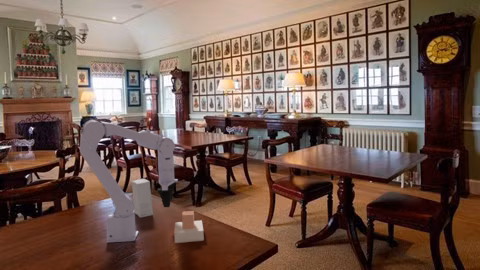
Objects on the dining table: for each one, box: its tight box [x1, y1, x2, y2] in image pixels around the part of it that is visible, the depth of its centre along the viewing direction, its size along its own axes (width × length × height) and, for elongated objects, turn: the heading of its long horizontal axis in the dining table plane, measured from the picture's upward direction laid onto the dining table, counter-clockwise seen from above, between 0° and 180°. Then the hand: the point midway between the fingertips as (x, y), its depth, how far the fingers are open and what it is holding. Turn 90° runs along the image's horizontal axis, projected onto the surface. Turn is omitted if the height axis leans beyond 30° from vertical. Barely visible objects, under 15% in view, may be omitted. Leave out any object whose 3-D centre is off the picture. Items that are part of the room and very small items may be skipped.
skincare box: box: [131, 178, 154, 218], centre depth 146 cm, size 8×6×15 cm
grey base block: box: [173, 219, 205, 244], centre depth 123 cm, size 10×10×4 cm
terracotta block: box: [181, 210, 195, 229], centre depth 123 cm, size 4×4×5 cm
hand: (167, 203), depth 129 cm, fingers open, 7 cm apart
